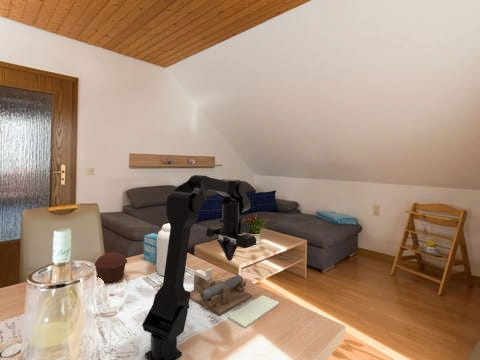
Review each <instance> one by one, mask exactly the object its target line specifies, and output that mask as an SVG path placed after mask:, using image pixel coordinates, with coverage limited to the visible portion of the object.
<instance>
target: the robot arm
mask: <svg viewBox="0 0 480 360" xmlns="http://www.w3.org/2000/svg"><path fill="white" fill-rule="evenodd" d="M195 190H199V191H198V192H197V193H194V191H195ZM208 191H210V192H211V191H212V192H217V193H218V194H219V195H220V196H224V197H223V198H222V199H221V200H220V202H219V205H222V208H221V209H222V213H221V214H222V215H221V218H220V219H219V223H221V226H219V225H214V226H211V227H208V228H207V230H206V232H205V233H206V234H205V235H206V237H208V238H213V237H214V236H215V235H216V236H217V237H218V239H217V240H216V242H218V244H219V246H220V248H221V249H222V251H223V254H224V255H225V258H226V259H227V261H230V262H231V261H232V260H233V257H234V255H235V252H236V251H237V248H238V247H239V248H243V249H249V248H251V247H253V246H255V245H257V238H256V236H254V235H251V234H249V231H250V228H251V224H248V223H243V222H242V221H243V220H242V218H241V217H240V214H241V213H243V212H247V211H248V210H250V208H251V206H252V203H251V202H252V201H251V200H250V199H249V197H248V196H247V193H246V189H245V186H244V184H243V183H242V180H239V179H226V178H223V179H220V178H219V179H218V178H213V177H210V176H207V175H202V174H193V175H191V176H190V177H189V178H188V180H187V181H185V182H183V183H181V184H180V185H179V186H176V187H175V189H174V190H173V191H172V192H171V193H170V194H169V195H167V198H166V201H165V202H166V203H165V204H166V205H165V216H166V218H167V221H168V223H170V235H169V243H168V250H167V257H166V265H165V272H164V276H163V281H162V285H161V286H160V288H159V289H158V290H157V292H156V293H155V295H154V299H153V303H152V305H151V307H150V310H149V311H148V313H147V314H146V316H145V318H144V320H143V322H142V325H141V327H142V329H143V331H144V332H147V333H149V334H150V350H149V351H147V352H145V354H144V356H145V358H147V360H176V359H178V358H180V357H181V356H182V355H183V354H182V351H181V350H179V348H178V347H177V346H178V337H179V336H180V335H181V334H183V333H184V331H185V326H186V323H187V322H186V321H187V317H188V312H189V309H190V300H191V299H190V291H189V290H186V289H185V285H184V282H185V274H186V271H185V268H186V260H187V261H188V251H189V243H190V235H191V228H192V227H193V226H194V224H195V223H196V222H197V220H198V219H199V215H200V212H201V208H202V207H203V206H204V204H205V203H206V201H207V192H208ZM243 233H245V234H243ZM242 234H243V235H242Z"/></svg>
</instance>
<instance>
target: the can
mask: <svg viewBox="0 0 480 360" xmlns="http://www.w3.org/2000/svg"><path fill="white" fill-rule="evenodd" d="M157 234H158V236H157V264H156V273H157V274H159V276H163V277H164V272H165V265H166V257H167V250H168V243H169V235H170V223H169V222H168V223H165V224H163V225H162V227H161V230H159V231H158V233H157ZM187 267H188V259H187V260H186V268H185V272H187V270H188V269H187Z"/></svg>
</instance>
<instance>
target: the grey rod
mask: <svg viewBox="0 0 480 360" xmlns="http://www.w3.org/2000/svg"><path fill="white" fill-rule="evenodd" d="M229 278H230V279H229ZM229 278H228V279H226V280H224V281H223V280H222V281H223V282H221V283H219V284H217V285H215V286H212V287H210V288H208V289H206V290H205V291H204V292H203V297H204V298H205V299H206V300H209V299H211V297H213V296H215V295H219V294H221V288H222V287H224V286H228V287H229V289H231V288H233V287H235V286H237V285H239V284H240V283H241V282H243V281H244V277H243V275H241V274H237V275H234V276H232V277H229Z"/></svg>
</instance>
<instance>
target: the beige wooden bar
mask: <svg viewBox="0 0 480 360" xmlns="http://www.w3.org/2000/svg"><path fill="white" fill-rule="evenodd" d="M194 275H197V276H199V277H201V278H203V279H205V280H210V279H213V268H210V267H209V268H207V269H205V271H204V270H201V269H197V270H194Z"/></svg>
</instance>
